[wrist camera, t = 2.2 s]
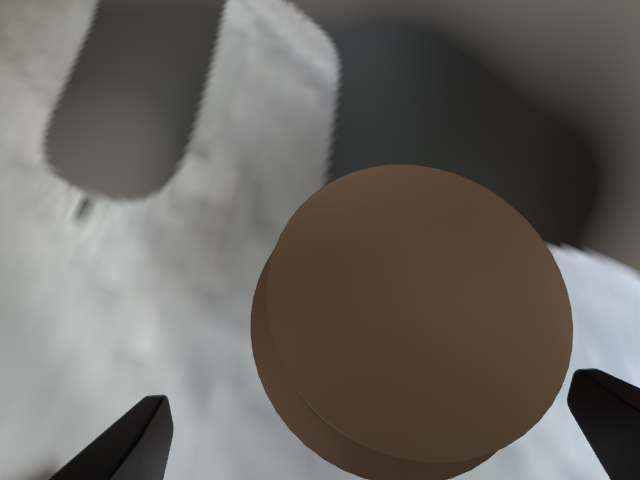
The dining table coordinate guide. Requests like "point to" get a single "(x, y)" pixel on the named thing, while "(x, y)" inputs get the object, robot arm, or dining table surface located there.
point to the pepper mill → (410, 324)
